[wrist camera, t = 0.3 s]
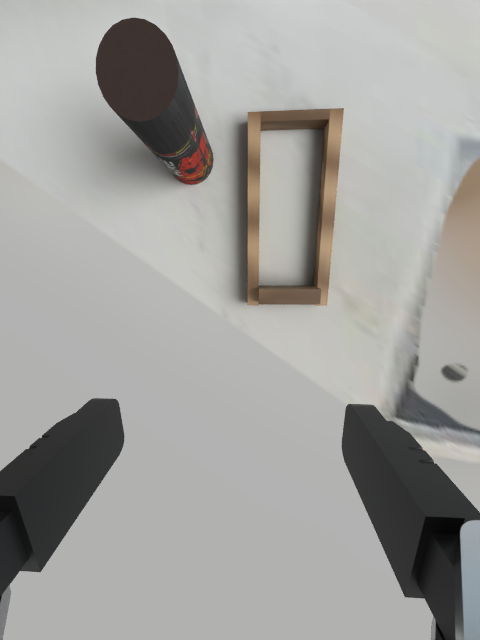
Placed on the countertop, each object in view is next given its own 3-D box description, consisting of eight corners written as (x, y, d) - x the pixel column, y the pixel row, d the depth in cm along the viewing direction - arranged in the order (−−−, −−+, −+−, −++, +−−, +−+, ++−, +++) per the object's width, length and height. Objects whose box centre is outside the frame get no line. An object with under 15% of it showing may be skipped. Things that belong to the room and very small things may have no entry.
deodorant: (169, 184, 32) (100, 121, 18) (167, 133, 31) (90, 18, 16) (213, 185, 32) (180, 121, 17) (213, 133, 30) (177, 17, 16)
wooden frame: (248, 121, 30) (247, 101, 26) (337, 118, 29) (350, 96, 25) (247, 302, 35) (247, 307, 32) (322, 302, 35) (331, 308, 31)
